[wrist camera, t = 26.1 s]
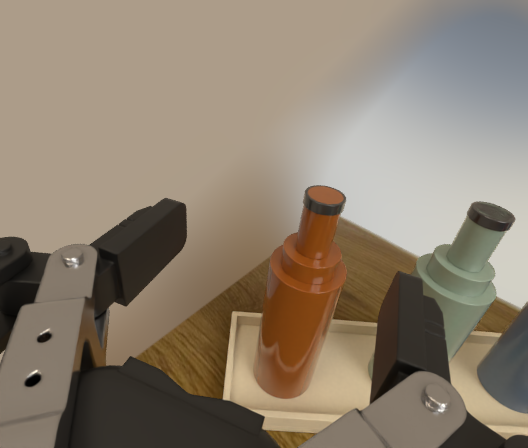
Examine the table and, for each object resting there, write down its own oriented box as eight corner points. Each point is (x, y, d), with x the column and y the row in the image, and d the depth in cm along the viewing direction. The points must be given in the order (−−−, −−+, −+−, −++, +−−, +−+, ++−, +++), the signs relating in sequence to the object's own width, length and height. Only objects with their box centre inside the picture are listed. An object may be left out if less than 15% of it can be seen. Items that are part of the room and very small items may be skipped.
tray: (219, 427, 29) (220, 413, 28) (231, 324, 39) (232, 310, 37) (595, 450, 31) (612, 439, 30) (520, 347, 41) (530, 335, 39)
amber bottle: (242, 356, 34) (265, 180, 23) (291, 336, 37) (332, 170, 26) (271, 410, 30) (316, 227, 19) (324, 383, 33) (389, 209, 22)
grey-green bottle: (355, 364, 35) (430, 197, 24) (394, 343, 38) (477, 185, 27) (399, 417, 31) (514, 245, 20) (439, 389, 34) (560, 225, 23)
